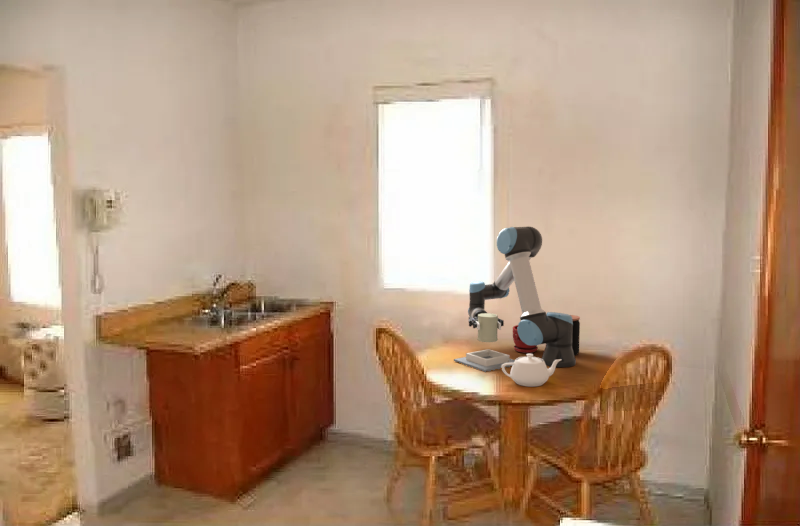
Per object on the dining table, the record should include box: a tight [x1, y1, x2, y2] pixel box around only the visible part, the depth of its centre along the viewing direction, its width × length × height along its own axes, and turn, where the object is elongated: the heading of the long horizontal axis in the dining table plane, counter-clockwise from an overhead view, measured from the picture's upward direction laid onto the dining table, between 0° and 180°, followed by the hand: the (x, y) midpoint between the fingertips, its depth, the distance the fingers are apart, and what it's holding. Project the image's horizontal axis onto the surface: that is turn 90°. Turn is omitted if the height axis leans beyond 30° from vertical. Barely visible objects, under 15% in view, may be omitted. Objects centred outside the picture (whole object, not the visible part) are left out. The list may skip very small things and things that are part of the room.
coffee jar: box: [570, 314, 581, 356], centre depth 316 cm, size 11×11×18 cm
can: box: [477, 312, 499, 343], centre depth 300 cm, size 9×9×12 cm
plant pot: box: [512, 324, 539, 354], centre depth 322 cm, size 13×13×12 cm
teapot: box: [501, 353, 562, 387], centre depth 269 cm, size 25×16×12 cm, turn 93°
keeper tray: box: [453, 348, 516, 373], centre depth 301 cm, size 22×22×4 cm
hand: (489, 327), depth 295 cm, fingers closed on can, 9 cm apart
